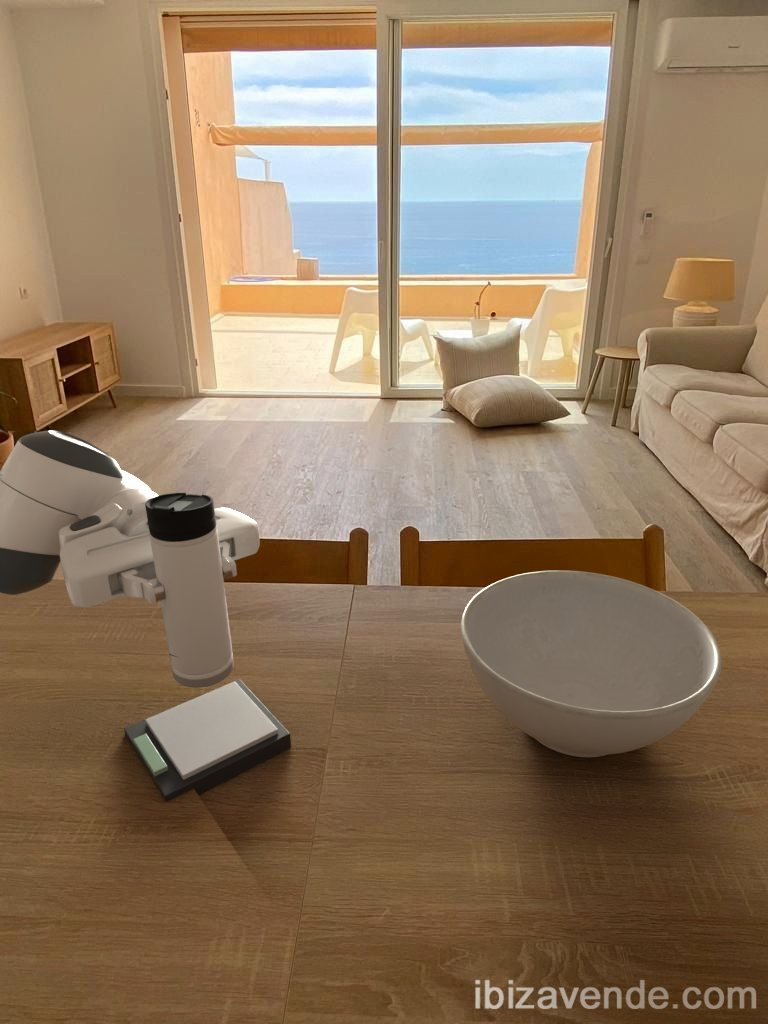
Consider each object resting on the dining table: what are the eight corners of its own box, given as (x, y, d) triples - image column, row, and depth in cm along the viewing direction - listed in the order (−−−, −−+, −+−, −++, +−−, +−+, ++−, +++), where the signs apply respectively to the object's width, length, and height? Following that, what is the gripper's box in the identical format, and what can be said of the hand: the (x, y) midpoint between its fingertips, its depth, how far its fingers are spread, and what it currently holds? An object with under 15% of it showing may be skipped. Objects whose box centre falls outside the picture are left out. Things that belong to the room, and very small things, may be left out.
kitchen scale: (167, 811, 68) (164, 791, 67) (126, 742, 77) (122, 723, 76) (291, 747, 76) (290, 729, 75) (241, 691, 84) (239, 674, 83)
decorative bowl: (508, 628, 96) (513, 551, 91) (717, 691, 84) (737, 605, 79) (415, 749, 75) (417, 657, 70) (676, 856, 63) (699, 754, 58)
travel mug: (160, 686, 71) (127, 507, 62) (190, 648, 76) (165, 480, 68) (216, 695, 69) (191, 513, 61) (243, 656, 75) (224, 485, 67)
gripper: (230, 534, 85) (288, 578, 75) (54, 587, 73) (94, 647, 63) (225, 486, 82) (285, 525, 72) (41, 533, 71) (82, 588, 61)
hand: (194, 583), depth 68 cm, fingers closed on travel mug, 6 cm apart
